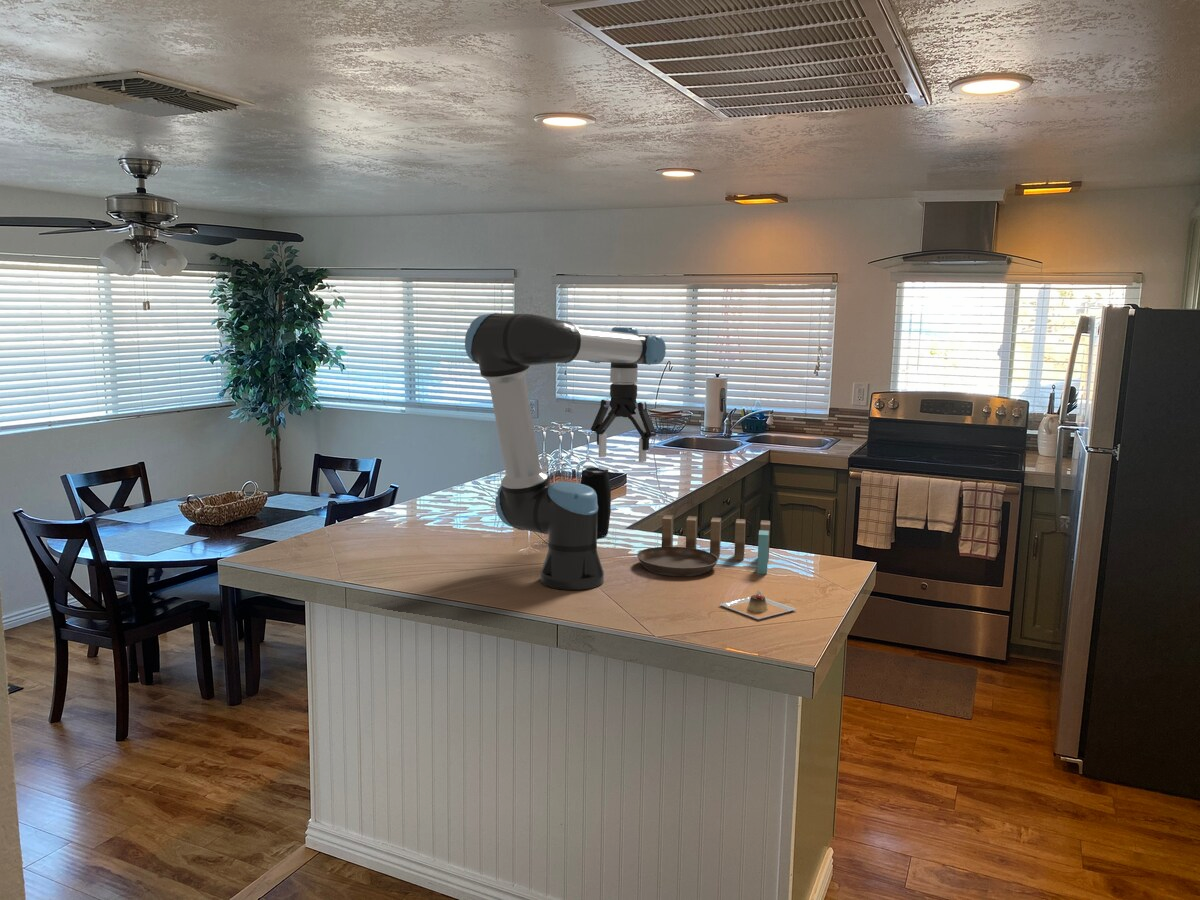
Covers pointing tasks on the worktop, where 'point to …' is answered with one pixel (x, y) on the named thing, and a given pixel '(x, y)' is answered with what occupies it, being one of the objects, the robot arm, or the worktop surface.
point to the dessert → (757, 605)
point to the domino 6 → (762, 552)
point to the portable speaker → (600, 495)
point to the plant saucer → (677, 561)
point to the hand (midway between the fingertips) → (622, 459)
